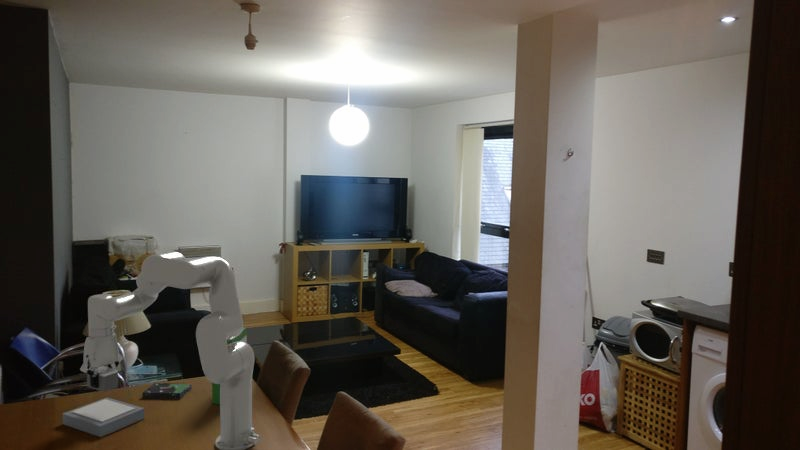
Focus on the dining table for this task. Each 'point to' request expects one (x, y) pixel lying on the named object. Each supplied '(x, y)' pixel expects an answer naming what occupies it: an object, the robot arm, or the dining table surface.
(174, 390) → the disk drive
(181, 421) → the dining table surface
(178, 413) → the dining table surface
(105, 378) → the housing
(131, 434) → the dining table surface
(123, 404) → the stand
